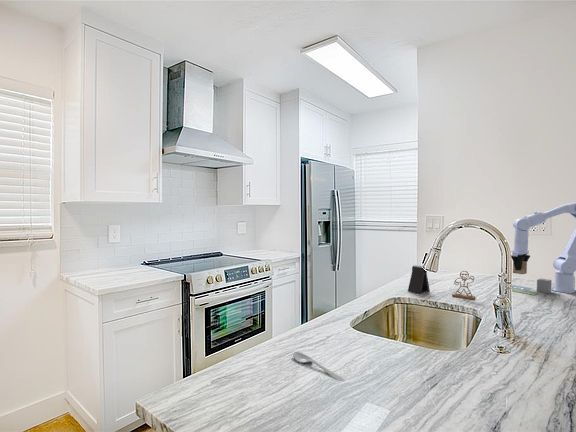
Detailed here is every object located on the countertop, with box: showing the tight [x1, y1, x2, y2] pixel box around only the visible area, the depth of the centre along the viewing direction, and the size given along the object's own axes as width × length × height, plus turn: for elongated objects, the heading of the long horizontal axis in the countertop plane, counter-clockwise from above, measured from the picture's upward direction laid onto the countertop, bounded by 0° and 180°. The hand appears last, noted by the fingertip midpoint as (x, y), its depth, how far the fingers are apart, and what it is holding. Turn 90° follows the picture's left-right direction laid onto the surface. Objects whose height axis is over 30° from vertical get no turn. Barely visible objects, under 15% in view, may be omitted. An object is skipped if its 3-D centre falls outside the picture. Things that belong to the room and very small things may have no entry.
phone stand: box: [407, 265, 431, 295], centre depth 170 cm, size 9×6×12 cm, turn 127°
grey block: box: [536, 278, 552, 294], centre depth 172 cm, size 4×4×6 cm
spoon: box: [292, 351, 345, 382], centre depth 89 cm, size 4×21×2 cm, turn 40°
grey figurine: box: [451, 270, 476, 301], centre depth 160 cm, size 9×4×12 cm, turn 52°
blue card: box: [511, 284, 534, 291], centre depth 179 cm, size 9×9×1 cm
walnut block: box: [512, 261, 528, 275], centre depth 179 cm, size 4×4×6 cm
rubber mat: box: [511, 288, 540, 296], centre depth 171 cm, size 6×12×1 cm, turn 37°
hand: (520, 269), depth 179 cm, fingers closed on walnut block, 4 cm apart
